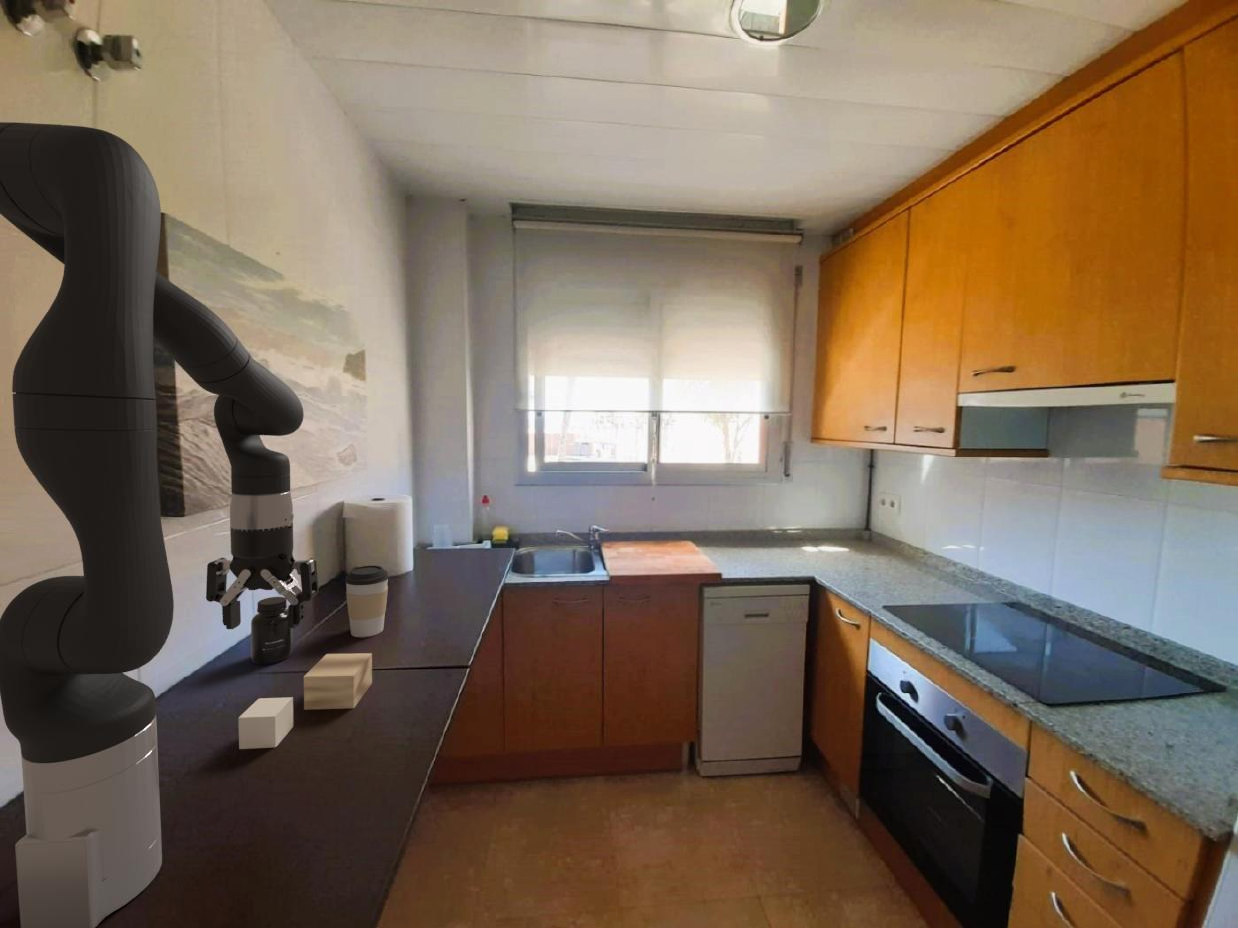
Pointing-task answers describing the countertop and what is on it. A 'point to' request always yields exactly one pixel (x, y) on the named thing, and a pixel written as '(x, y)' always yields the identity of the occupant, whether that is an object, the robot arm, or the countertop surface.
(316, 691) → the oak block
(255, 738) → the cream cube
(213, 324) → the robot arm
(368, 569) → the coffee cup
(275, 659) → the supplement bottle
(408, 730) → the countertop surface
